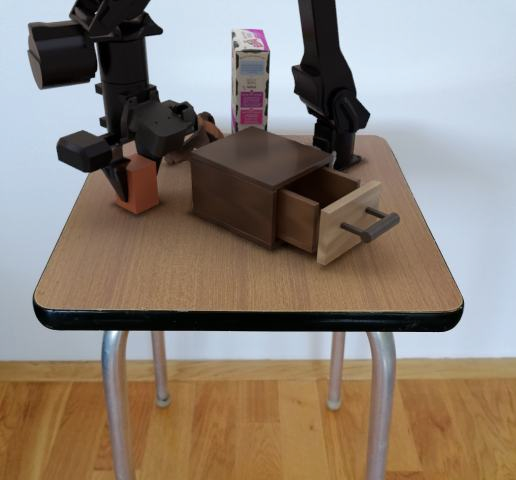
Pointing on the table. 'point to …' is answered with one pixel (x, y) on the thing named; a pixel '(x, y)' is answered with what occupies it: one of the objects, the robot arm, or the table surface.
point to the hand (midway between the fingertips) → (137, 196)
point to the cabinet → (249, 180)
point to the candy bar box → (249, 79)
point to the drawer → (330, 213)
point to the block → (140, 184)
